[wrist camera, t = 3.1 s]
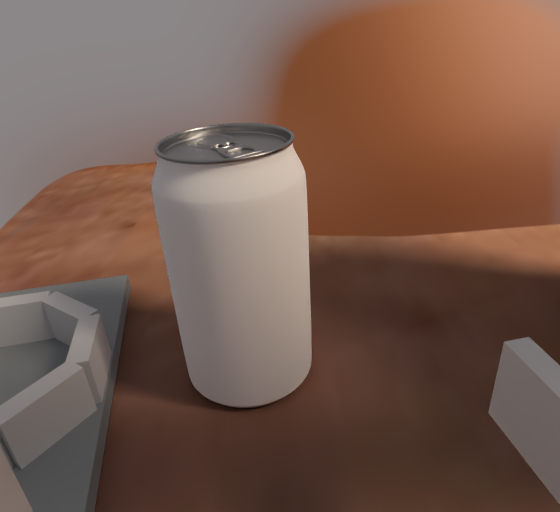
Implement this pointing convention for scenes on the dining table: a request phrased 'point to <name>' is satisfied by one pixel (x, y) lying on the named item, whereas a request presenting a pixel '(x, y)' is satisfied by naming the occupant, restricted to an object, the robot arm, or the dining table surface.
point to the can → (237, 258)
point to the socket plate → (89, 440)
